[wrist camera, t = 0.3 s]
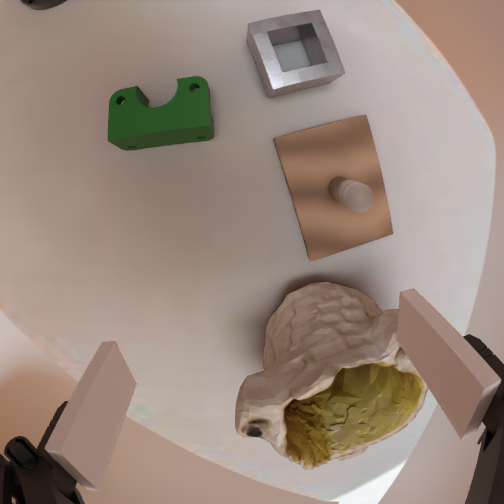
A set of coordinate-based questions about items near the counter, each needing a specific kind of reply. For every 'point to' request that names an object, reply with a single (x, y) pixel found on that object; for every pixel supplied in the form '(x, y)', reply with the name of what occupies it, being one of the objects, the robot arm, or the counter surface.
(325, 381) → the ceramic vessel
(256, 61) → the collar
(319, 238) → the post board
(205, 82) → the clamp
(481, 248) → the counter surface
